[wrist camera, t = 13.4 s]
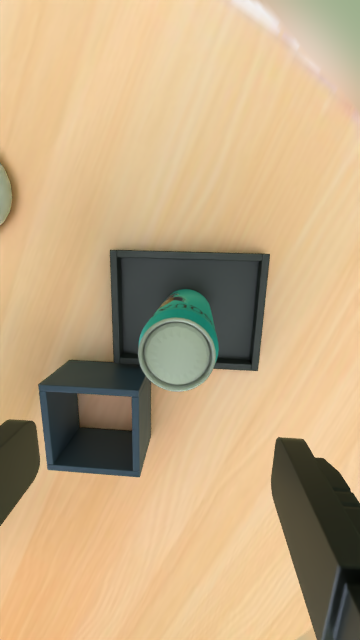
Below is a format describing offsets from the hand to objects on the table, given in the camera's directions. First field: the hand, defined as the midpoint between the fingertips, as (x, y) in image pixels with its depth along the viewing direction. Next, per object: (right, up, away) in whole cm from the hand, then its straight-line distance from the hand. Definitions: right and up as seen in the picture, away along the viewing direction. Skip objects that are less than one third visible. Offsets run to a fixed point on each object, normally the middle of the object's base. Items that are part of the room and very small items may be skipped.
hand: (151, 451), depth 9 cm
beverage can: (+2, +5, +23) cm, 24 cm away
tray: (+2, +6, +24) cm, 24 cm away
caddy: (-9, -7, +27) cm, 29 cm away
